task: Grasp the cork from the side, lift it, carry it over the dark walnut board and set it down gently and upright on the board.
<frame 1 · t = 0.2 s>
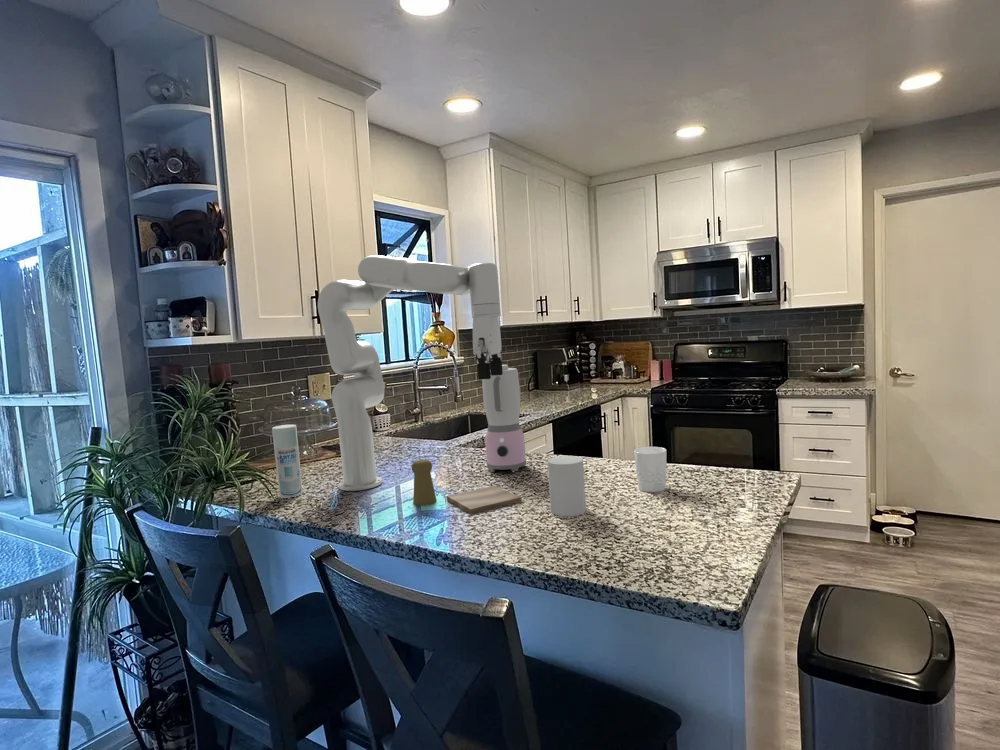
hand: (490, 377, 151), 31 cm above the counter, tool pointing down, fingers open, 9 cm apart
spray can: (291, 496, 164), on the counter
white cup: (652, 489, 146), on the counter
cup: (568, 511, 134), on the counter
blender: (506, 470, 176), on the counter
walnut board: (483, 501, 146), on the counter
cork: (424, 502, 149), on the counter
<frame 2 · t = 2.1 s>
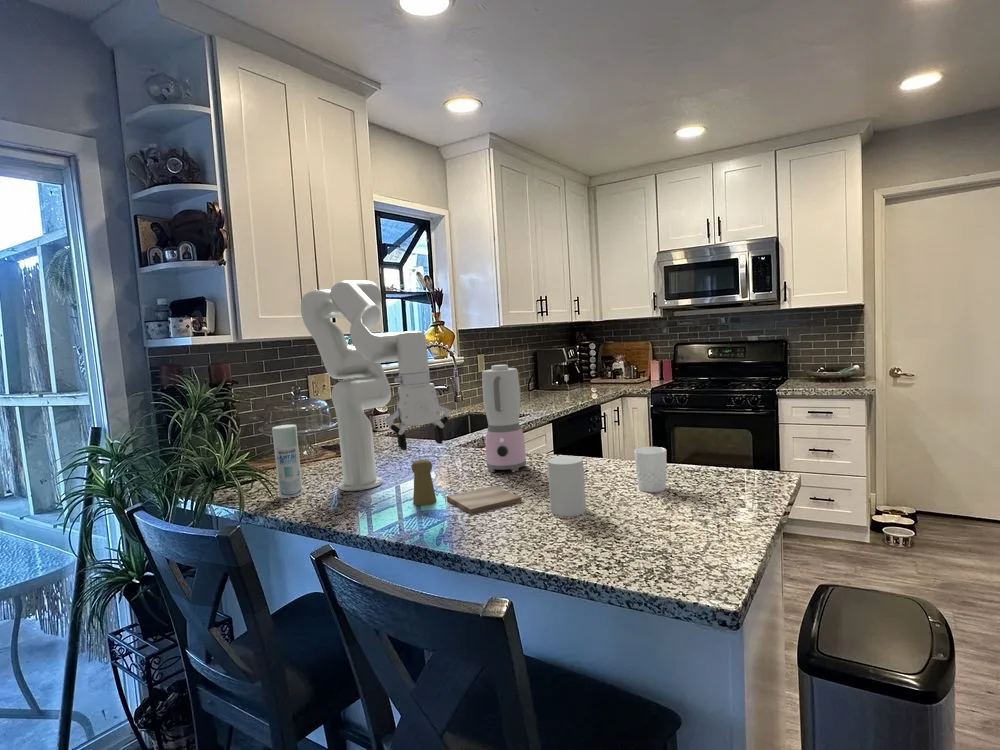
hand: (421, 446, 147), 15 cm above the counter, tool pointing down, fingers open, 9 cm apart
nothing on the counter moved.
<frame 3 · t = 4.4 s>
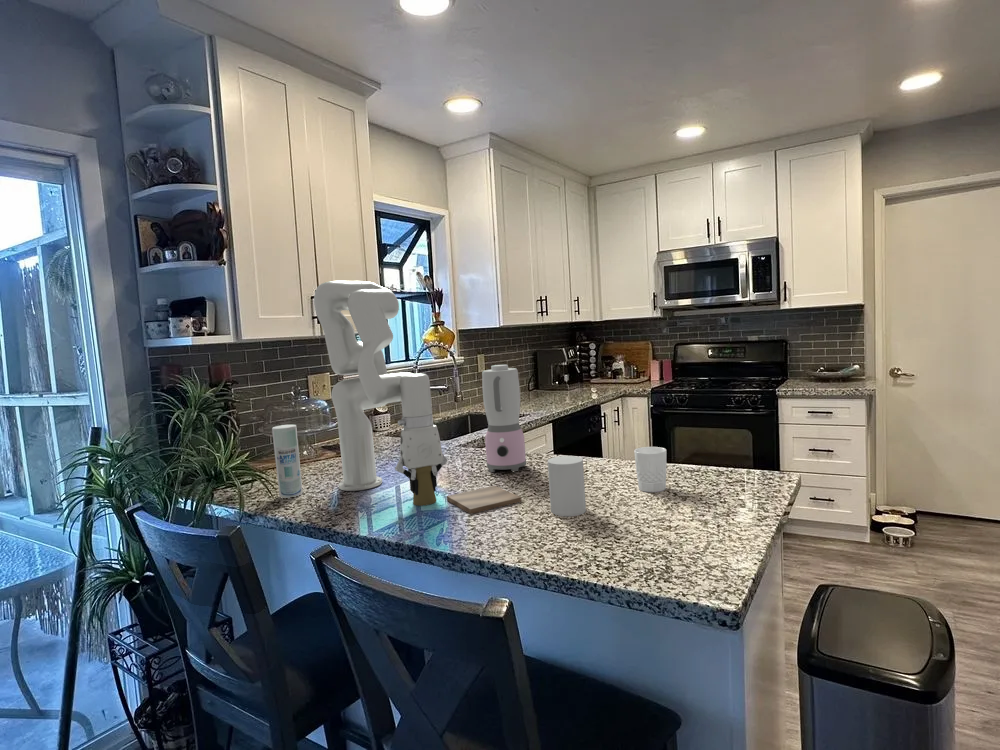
hand: (424, 491, 148), 3 cm above the counter, tool pointing down, fingers closed on cork, 4 cm apart
cork: (424, 502, 149), on the counter, touching gripper
everything else where it was.
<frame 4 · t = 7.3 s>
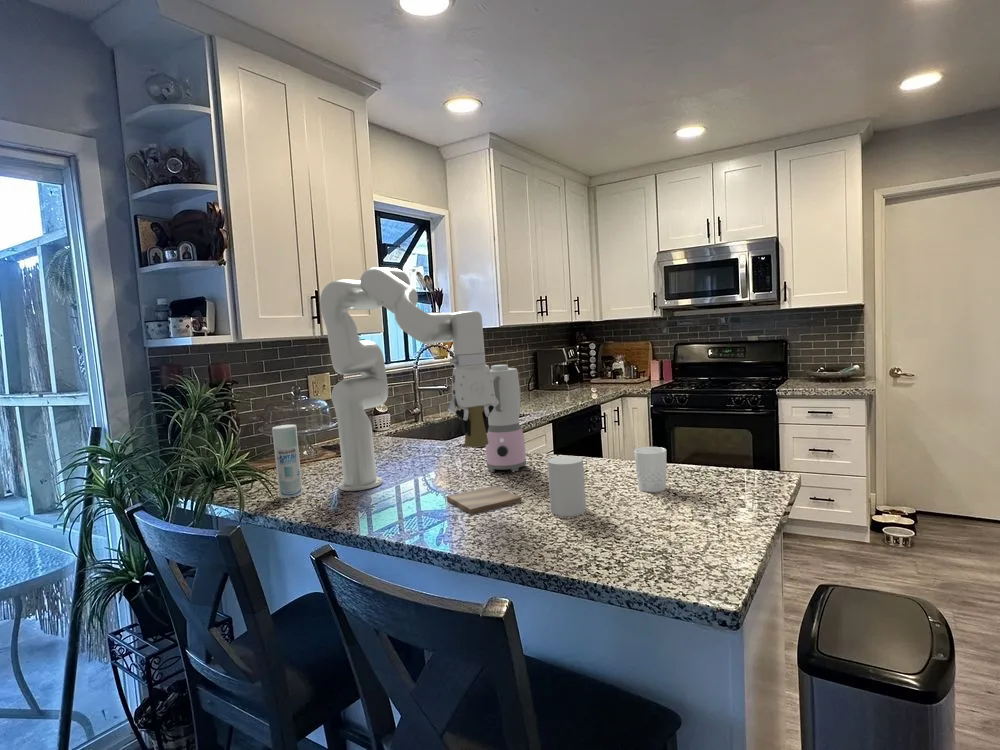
hand: (475, 433, 144), 18 cm above the counter, tool pointing down, fingers closed on cork, 4 cm apart
cork: (476, 444, 144), point 15 cm above the counter, touching gripper
everything else where it was.
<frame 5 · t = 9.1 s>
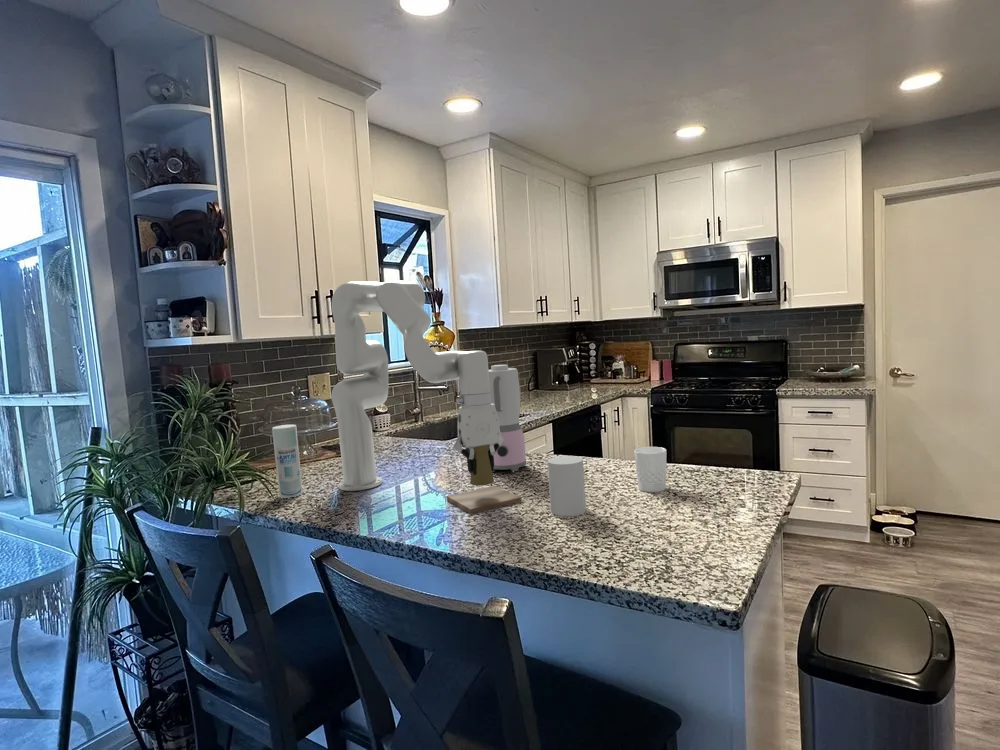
hand: (481, 471, 145), 8 cm above the counter, tool pointing down, fingers closed on cork, 4 cm apart
cork: (482, 482, 145), point 5 cm above the counter, touching gripper
everything else where it was.
when the fingers open (5 cm above the counter, at t = 10.4 s): cork drops 1 cm, resting on walnut board.
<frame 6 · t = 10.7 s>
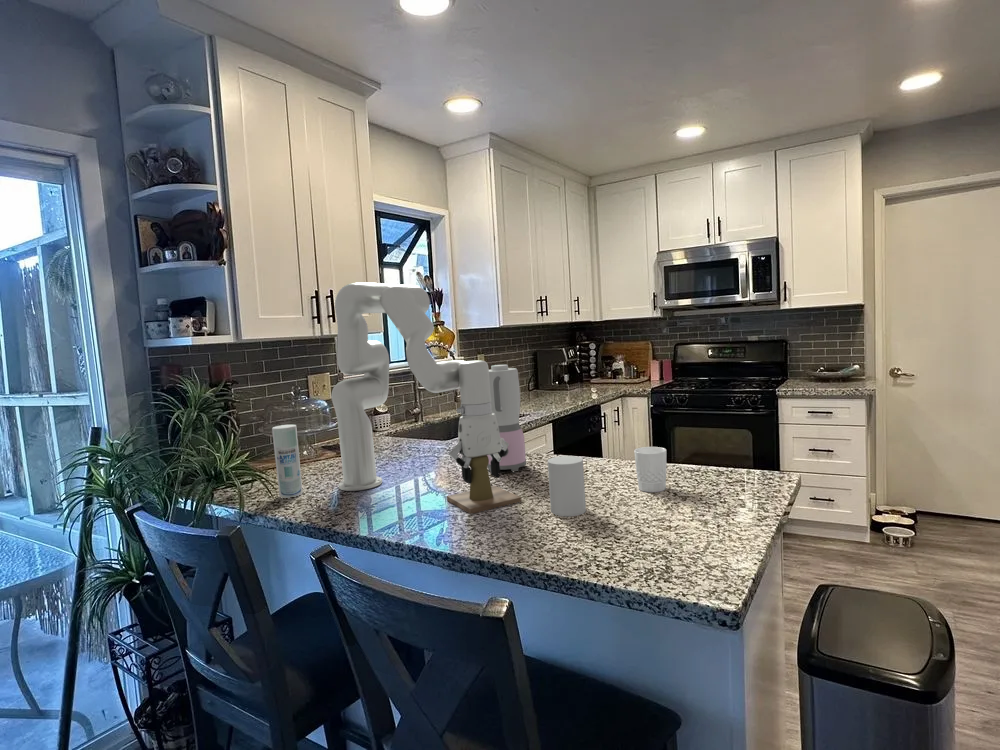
hand: (481, 478, 145), 6 cm above the counter, tool pointing down, fingers open, 7 cm apart
cork: (481, 497, 145), point 1 cm above the counter, touching walnut board
everything else where it was.
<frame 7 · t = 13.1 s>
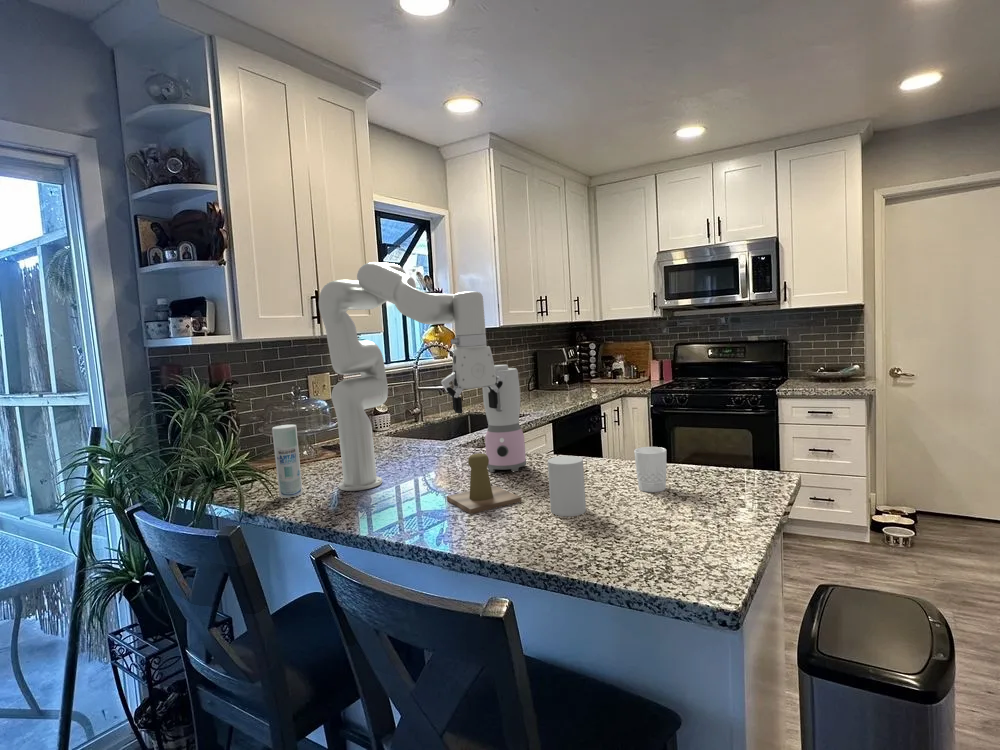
hand: (476, 410, 144), 23 cm above the counter, tool pointing down, fingers open, 9 cm apart
nothing on the counter moved.
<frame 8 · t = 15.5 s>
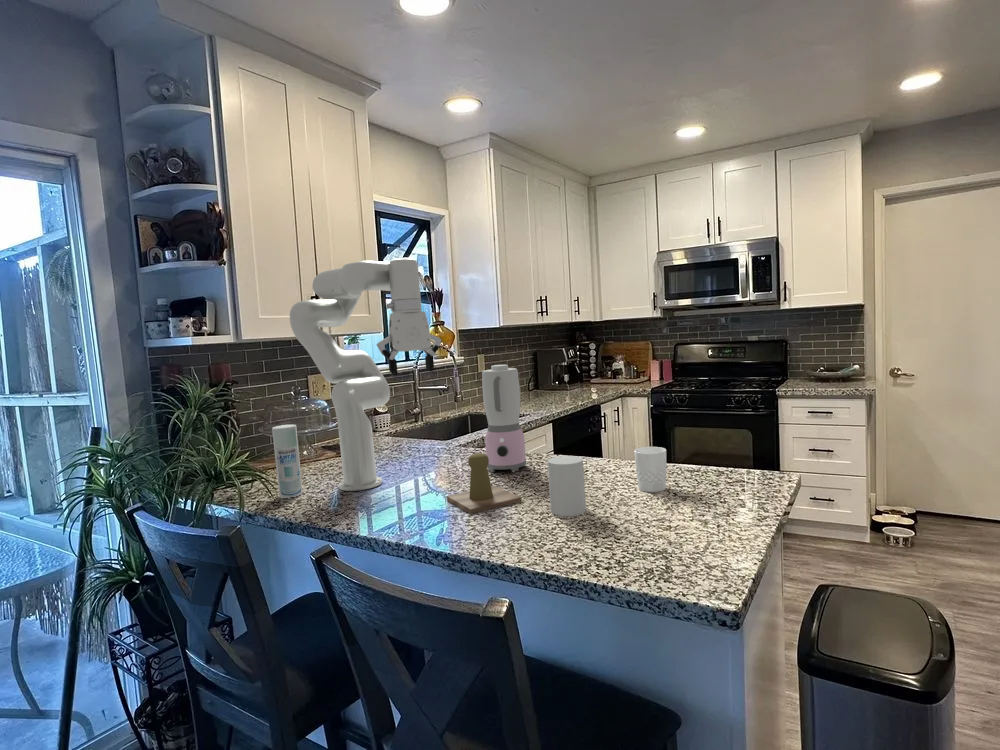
hand: (412, 373, 150), 33 cm above the counter, tool pointing down, fingers open, 9 cm apart
nothing on the counter moved.
at the end: cork inside the target area on the walnut board (0.5 cm from its centre), point 1.0 cm above the walnut board's base; cork tilted 0°; the gripper is holding nothing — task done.
